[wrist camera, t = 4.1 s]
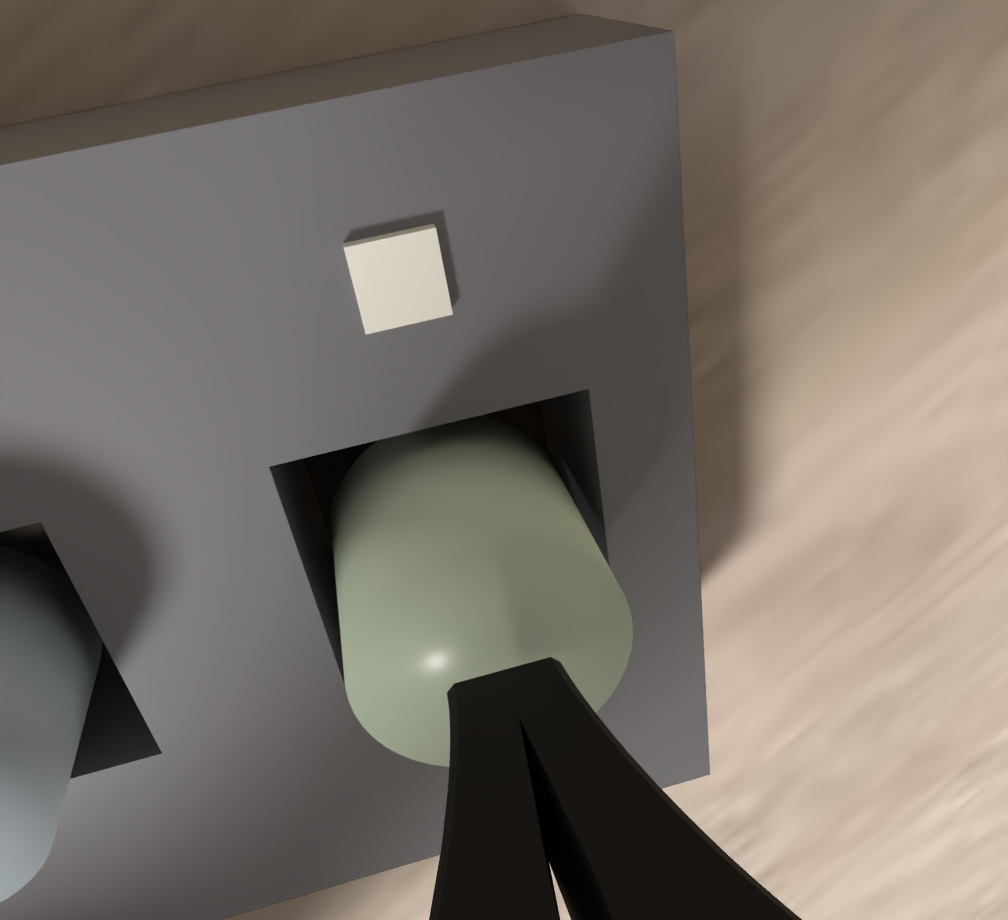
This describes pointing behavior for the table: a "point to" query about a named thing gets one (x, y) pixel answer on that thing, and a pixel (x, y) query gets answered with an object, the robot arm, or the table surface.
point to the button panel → (330, 422)
